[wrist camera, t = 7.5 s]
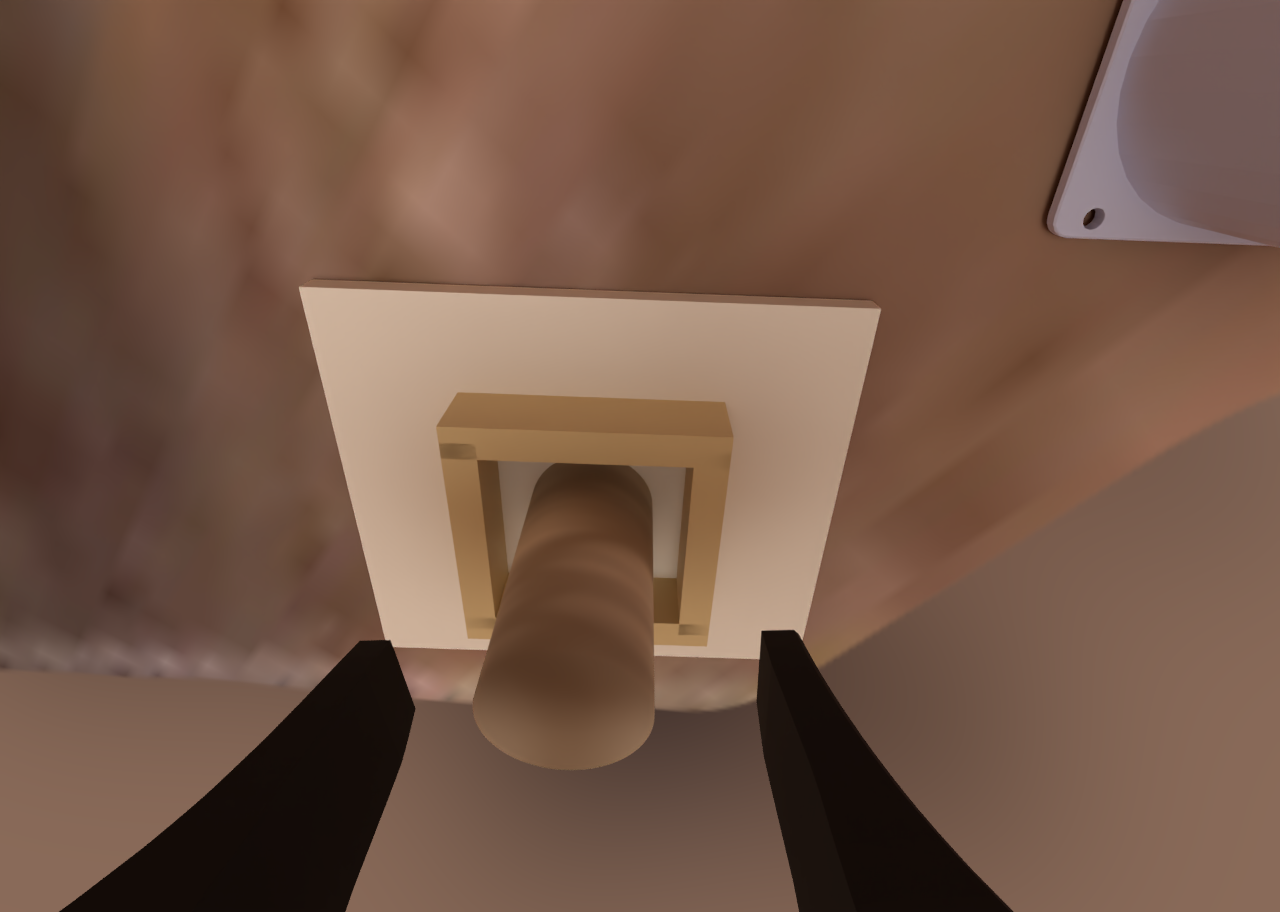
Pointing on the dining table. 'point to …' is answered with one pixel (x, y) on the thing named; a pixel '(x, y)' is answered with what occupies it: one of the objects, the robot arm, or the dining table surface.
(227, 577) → the dining table surface
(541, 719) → the birch peg
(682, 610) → the socket plate
